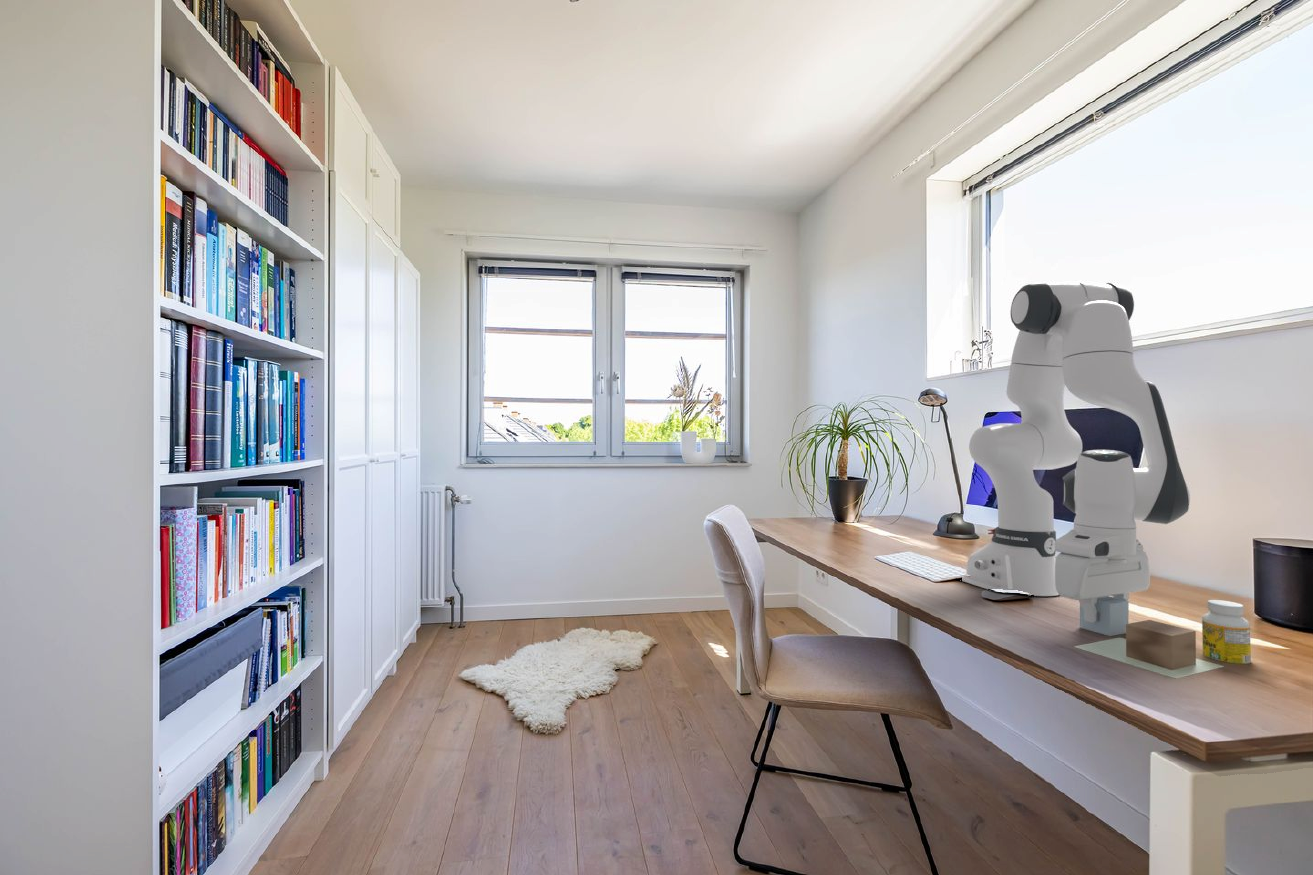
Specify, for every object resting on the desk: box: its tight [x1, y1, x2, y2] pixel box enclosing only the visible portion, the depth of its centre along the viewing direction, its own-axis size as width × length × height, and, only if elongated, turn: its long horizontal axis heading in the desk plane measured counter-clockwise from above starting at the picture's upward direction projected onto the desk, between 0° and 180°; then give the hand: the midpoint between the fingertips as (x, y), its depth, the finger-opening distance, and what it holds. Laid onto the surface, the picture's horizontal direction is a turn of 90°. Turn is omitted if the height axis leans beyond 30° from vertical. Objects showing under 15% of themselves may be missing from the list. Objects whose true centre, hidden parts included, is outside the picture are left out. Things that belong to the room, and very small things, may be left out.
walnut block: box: [1125, 619, 1197, 670], centre depth 90 cm, size 6×6×5 cm
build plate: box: [1073, 637, 1225, 680], centre depth 92 cm, size 14×12×1 cm
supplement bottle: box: [1201, 599, 1252, 665], centre depth 91 cm, size 5×5×10 cm
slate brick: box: [1079, 596, 1130, 637], centre depth 104 cm, size 5×5×6 cm
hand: (1104, 619), depth 104 cm, fingers closed on slate brick, 5 cm apart
